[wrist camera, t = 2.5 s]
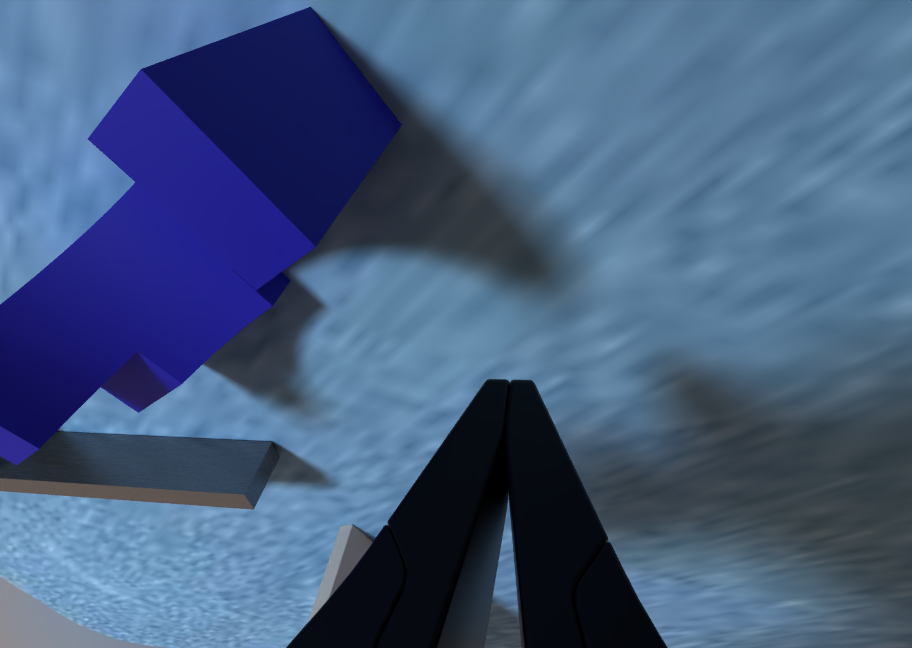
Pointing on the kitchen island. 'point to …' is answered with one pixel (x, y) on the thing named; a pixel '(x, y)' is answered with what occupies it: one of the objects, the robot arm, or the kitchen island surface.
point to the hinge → (341, 562)
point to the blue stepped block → (191, 221)
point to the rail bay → (145, 469)
